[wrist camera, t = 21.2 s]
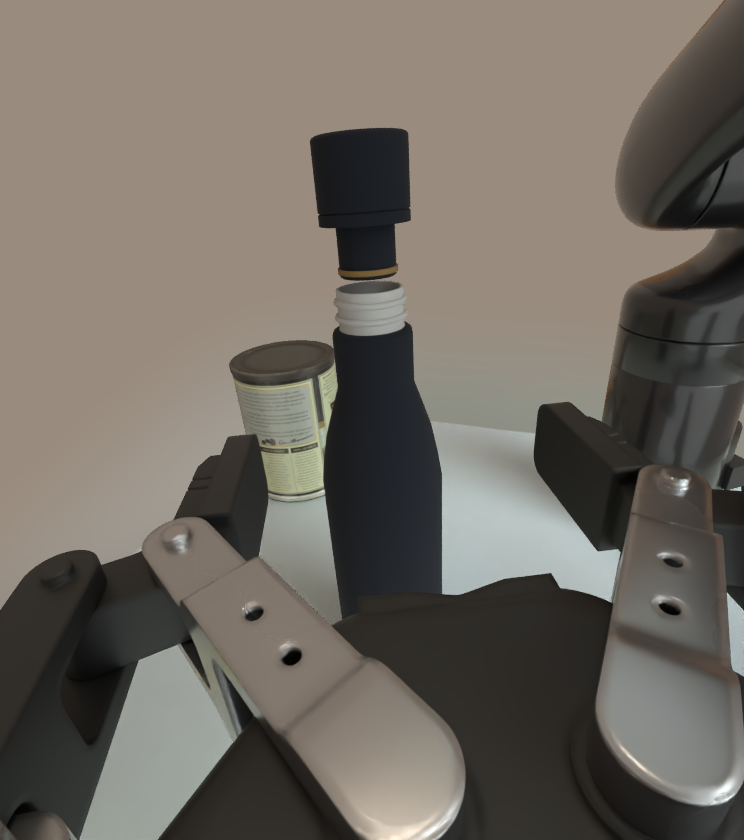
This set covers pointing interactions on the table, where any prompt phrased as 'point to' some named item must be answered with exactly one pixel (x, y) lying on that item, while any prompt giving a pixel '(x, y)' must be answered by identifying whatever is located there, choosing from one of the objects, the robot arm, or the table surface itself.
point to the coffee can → (288, 412)
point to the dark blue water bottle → (375, 380)
